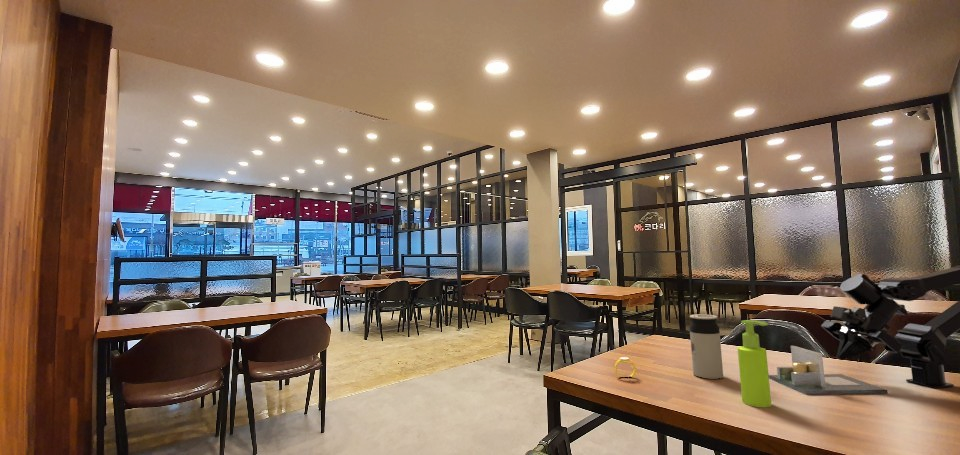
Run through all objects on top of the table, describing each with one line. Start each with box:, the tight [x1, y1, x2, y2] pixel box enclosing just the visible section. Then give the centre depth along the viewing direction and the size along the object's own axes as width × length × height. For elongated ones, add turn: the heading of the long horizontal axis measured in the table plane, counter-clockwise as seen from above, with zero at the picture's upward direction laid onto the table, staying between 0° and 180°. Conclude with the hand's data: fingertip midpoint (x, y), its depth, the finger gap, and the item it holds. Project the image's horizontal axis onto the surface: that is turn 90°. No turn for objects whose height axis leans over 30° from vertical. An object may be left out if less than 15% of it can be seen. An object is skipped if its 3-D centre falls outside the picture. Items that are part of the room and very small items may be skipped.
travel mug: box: [689, 313, 724, 380], centre depth 121 cm, size 8×8×18 cm
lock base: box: [768, 362, 889, 396], centre depth 108 cm, size 20×14×6 cm
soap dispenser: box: [737, 319, 772, 408], centre depth 97 cm, size 6×7×20 cm
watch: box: [614, 356, 637, 378], centre depth 121 cm, size 6×3×6 cm, turn 81°
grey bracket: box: [776, 345, 826, 387], centre depth 109 cm, size 6×10×8 cm, turn 177°
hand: (838, 358), depth 108 cm, fingers closed
